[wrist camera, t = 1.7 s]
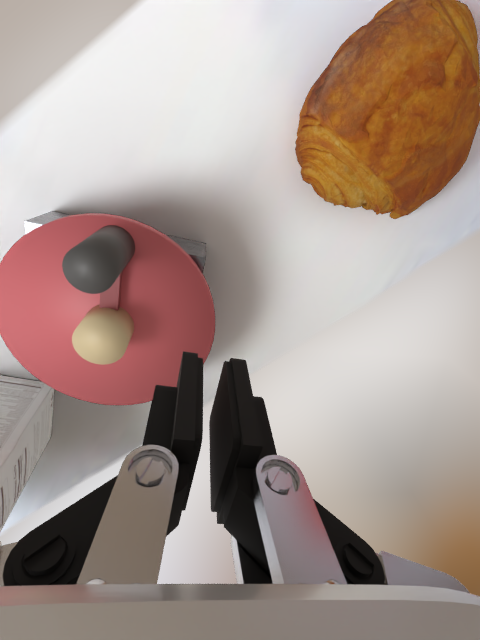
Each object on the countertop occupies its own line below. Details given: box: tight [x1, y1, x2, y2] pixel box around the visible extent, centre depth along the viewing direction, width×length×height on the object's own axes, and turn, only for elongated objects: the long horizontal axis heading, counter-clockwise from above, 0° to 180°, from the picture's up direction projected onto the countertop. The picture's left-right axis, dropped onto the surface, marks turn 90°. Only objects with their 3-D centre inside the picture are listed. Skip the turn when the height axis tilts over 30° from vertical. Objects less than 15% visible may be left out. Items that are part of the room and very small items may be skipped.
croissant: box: [295, 0, 480, 219], centre depth 26 cm, size 14×16×8 cm
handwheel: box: [0, 213, 215, 405], centre depth 25 cm, size 18×18×7 cm
